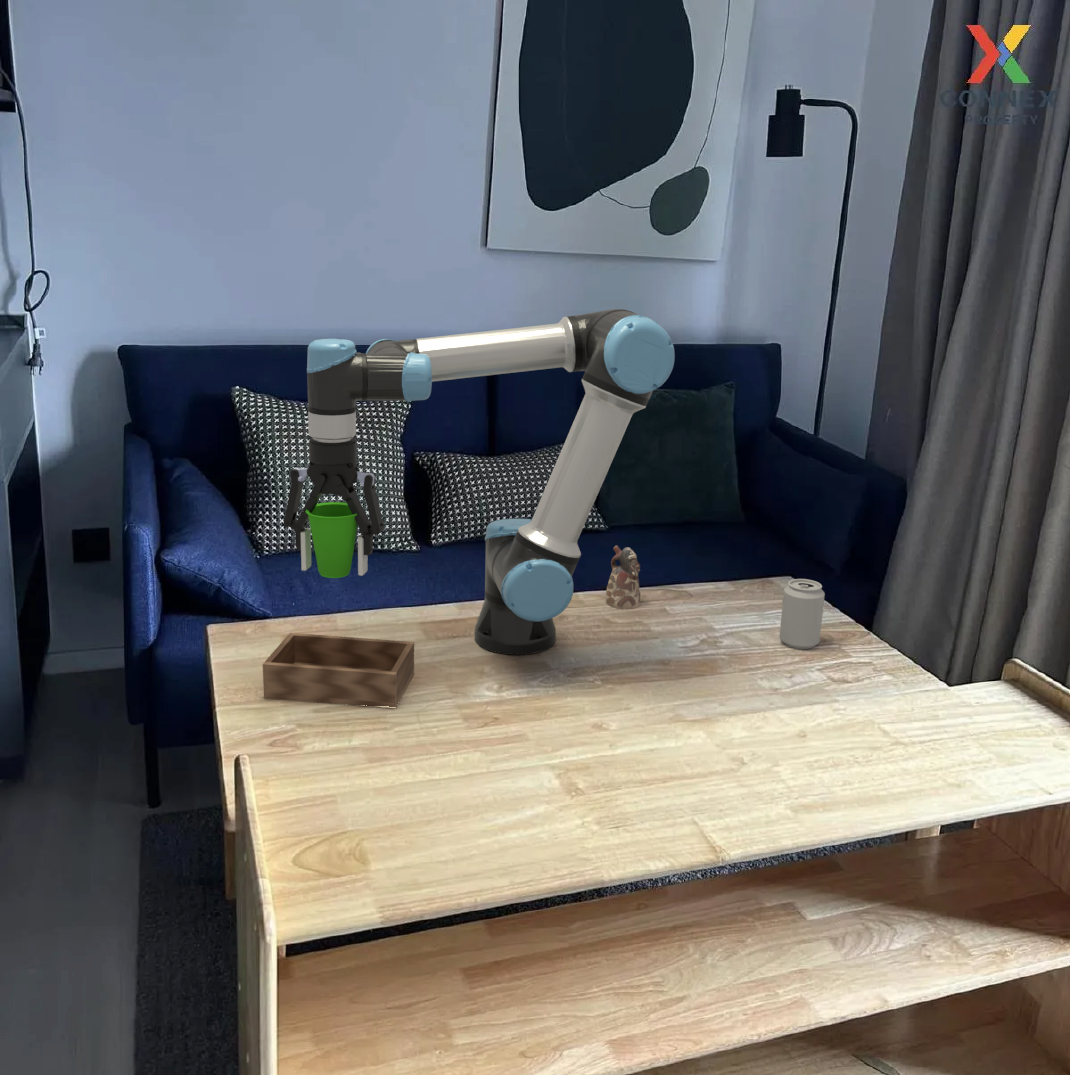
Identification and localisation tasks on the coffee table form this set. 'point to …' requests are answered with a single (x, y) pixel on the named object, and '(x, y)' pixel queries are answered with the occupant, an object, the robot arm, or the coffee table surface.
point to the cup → (333, 538)
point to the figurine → (624, 580)
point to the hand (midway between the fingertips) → (334, 570)
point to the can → (802, 613)
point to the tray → (339, 670)
